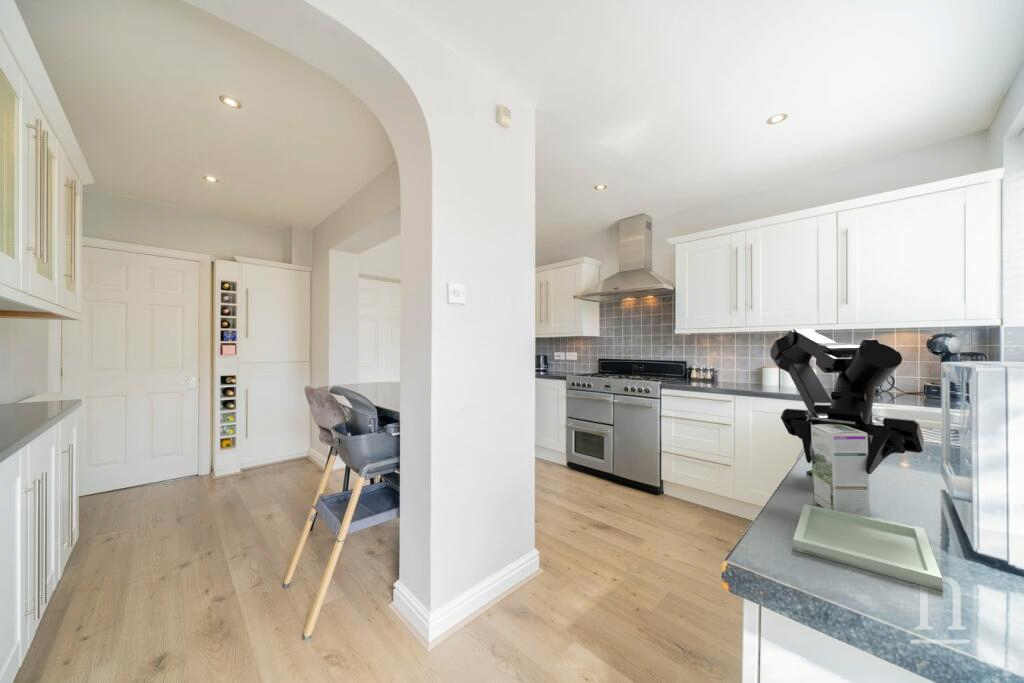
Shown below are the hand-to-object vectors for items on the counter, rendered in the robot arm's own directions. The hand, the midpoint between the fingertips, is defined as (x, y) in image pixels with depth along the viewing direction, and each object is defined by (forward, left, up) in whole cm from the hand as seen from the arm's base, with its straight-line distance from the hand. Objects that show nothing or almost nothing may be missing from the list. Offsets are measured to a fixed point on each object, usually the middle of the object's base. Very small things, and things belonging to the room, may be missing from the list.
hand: (836, 467), depth 64 cm
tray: (+9, +8, -8) cm, 14 cm away
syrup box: (-1, -1, -8) cm, 8 cm away
